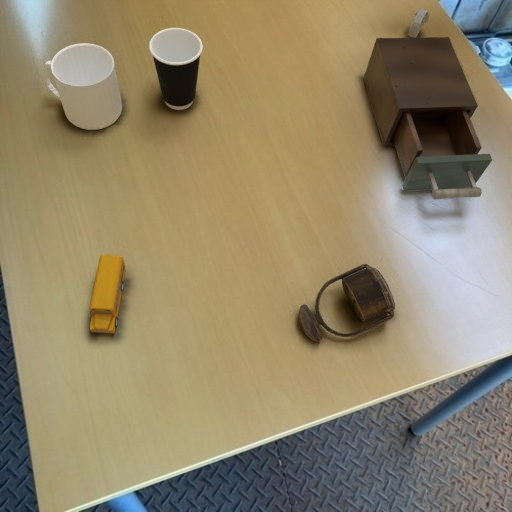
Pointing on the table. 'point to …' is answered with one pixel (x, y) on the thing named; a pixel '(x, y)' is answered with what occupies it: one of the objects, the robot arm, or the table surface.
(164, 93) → the dixie cup
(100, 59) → the mug
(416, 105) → the cabinet
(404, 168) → the drawer
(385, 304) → the mechanical counter
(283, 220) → the table surface
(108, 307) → the toy bus
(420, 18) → the wristwatch
